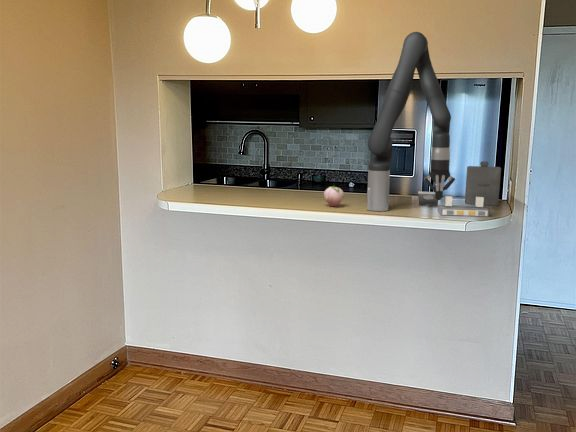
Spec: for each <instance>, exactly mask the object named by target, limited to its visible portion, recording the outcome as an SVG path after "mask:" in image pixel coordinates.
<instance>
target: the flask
mask: <svg viewBox="0 0 576 432" xmlns="http://www.w3.org/2000/svg"><path fill="white" fill-rule="evenodd" d="M501 175H502V168H501V167H500V166H489V162H488V161H485V160H484V161H481V162H480V166H476V165H475V166H474V165H468V166H466V177H465V179H466V180H465V193H464V204H465V205H468V206H475V203H476V196H483V197H484V202H483V206H484V207H486V206H488V207H491V206H492V207H493V206H494V207H495V206H498V205H499V200H500V199H499V198H500V188H501V187H500V186H501Z"/></svg>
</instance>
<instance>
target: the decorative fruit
mask: <svg viewBox="0 0 576 432" xmlns="http://www.w3.org/2000/svg"><path fill="white" fill-rule="evenodd" d="M323 197H324V201H326V203H327V204H328V205H330V206H331V207H332V208H334V207H335V206H338V205H340V204H341V203H342V202H343V200H344V198H345V193H344V191H343V189H341V188H340V187H337V186H335V185H333V186H328V187H327V188H326V189H325V190H324V192H323Z"/></svg>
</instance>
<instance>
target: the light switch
mask: <svg viewBox="0 0 576 432" xmlns="http://www.w3.org/2000/svg"><path fill="white" fill-rule="evenodd" d="M417 192H418V193H417V196H418V197H417V198H418V205H419V206H434V205H435V207H436V206H437V207H438V205H439V200H437V199H436V198H435V191H419V190H418V191H417Z"/></svg>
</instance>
